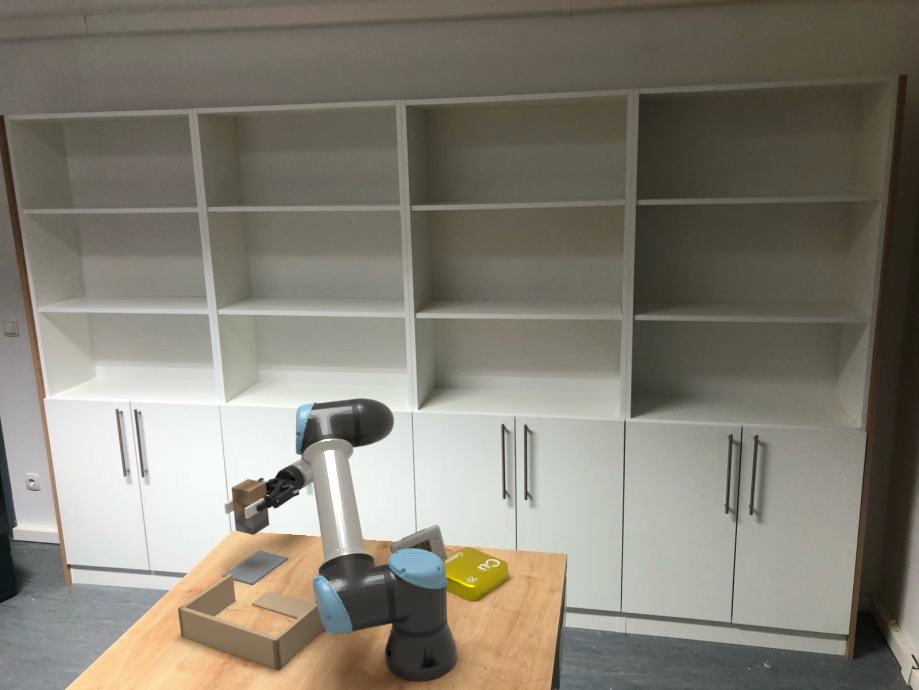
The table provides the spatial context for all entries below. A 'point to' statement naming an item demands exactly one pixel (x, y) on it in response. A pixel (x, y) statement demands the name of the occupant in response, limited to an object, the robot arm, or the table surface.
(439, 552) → the digital clock
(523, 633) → the table surface
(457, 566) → the element tile
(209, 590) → the cardboard walls
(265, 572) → the mat
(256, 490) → the reflective metal box
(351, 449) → the robot arm
